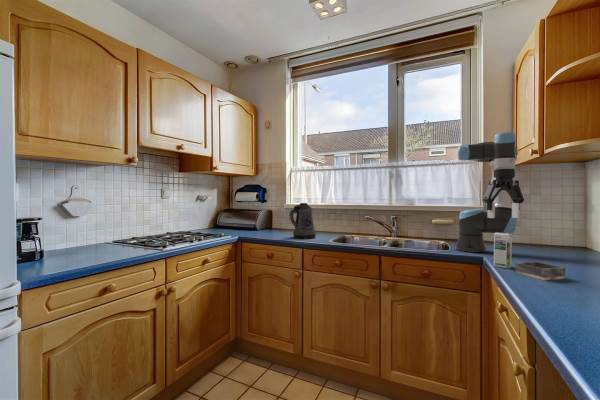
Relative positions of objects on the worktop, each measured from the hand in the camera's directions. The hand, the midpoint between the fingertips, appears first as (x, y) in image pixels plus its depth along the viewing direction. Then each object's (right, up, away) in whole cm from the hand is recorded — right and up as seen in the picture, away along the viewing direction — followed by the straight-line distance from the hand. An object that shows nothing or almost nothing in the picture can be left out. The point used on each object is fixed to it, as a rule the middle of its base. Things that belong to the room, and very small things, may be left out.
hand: (503, 218), depth 124 cm
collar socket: (+4, -21, -14) cm, 26 cm away
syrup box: (0, -21, 0) cm, 21 cm away
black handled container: (-86, -20, +83) cm, 121 cm away
